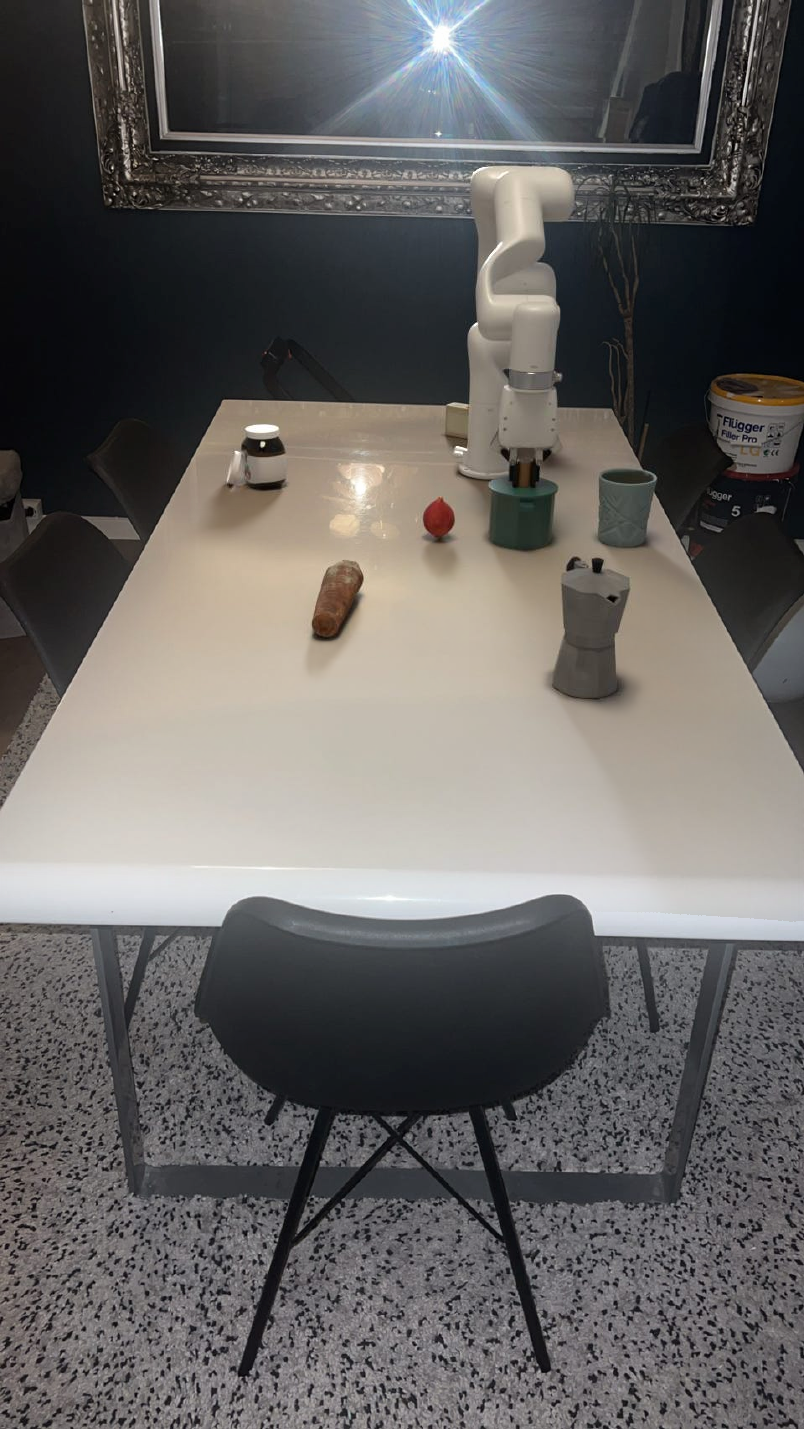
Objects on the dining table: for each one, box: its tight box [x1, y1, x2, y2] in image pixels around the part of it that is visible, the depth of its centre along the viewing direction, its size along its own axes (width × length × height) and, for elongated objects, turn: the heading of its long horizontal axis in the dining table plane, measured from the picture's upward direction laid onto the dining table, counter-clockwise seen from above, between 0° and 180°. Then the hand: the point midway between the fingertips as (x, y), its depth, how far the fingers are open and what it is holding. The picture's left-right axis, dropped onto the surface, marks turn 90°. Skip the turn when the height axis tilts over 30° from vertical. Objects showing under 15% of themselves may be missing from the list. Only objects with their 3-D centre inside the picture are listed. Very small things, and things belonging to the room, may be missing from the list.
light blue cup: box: [597, 467, 658, 548], centre depth 188 cm, size 10×10×12 cm
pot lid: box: [488, 458, 559, 499], centre depth 185 cm, size 12×12×6 cm
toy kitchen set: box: [444, 402, 469, 440], centre depth 254 cm, size 18×17×15 cm
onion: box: [422, 495, 456, 539], centre depth 188 cm, size 6×6×8 cm
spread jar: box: [226, 424, 288, 490], centre depth 215 cm, size 12×11×12 cm
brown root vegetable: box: [311, 559, 365, 638], centre depth 158 cm, size 6×19×6 cm, turn 171°
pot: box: [487, 490, 556, 551], centre depth 188 cm, size 11×17×10 cm
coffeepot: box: [551, 556, 631, 699], centre depth 137 cm, size 15×9×18 cm, turn 13°
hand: (523, 484), depth 186 cm, fingers closed on pot lid, 2 cm apart
